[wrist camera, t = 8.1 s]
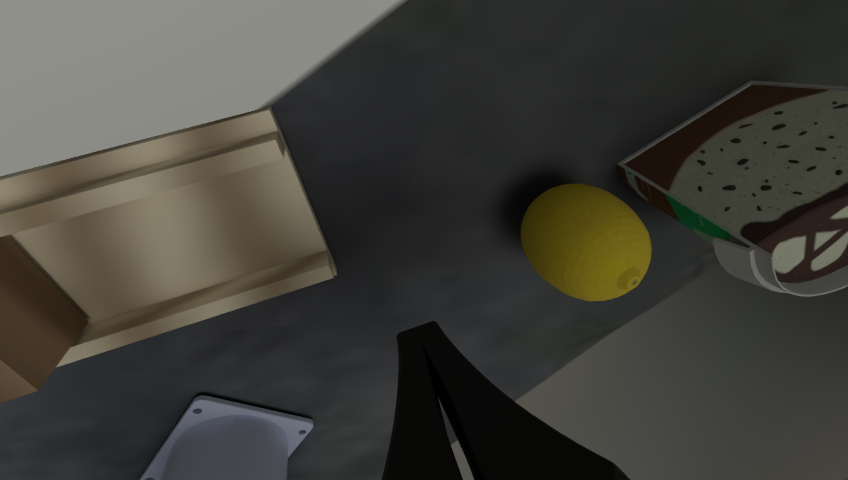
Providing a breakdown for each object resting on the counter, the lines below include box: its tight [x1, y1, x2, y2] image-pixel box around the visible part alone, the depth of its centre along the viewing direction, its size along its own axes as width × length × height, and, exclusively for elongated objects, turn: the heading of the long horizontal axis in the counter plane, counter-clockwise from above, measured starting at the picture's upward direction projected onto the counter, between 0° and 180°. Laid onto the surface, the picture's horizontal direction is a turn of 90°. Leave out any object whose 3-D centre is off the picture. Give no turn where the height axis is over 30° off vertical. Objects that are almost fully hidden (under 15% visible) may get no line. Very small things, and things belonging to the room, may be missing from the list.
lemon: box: [521, 184, 651, 301], centre depth 20 cm, size 6×6×8 cm
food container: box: [617, 80, 848, 296], centre depth 20 cm, size 12×6×10 cm, turn 119°
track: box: [0, 106, 337, 367], centre depth 16 cm, size 18×9×5 cm, turn 102°
